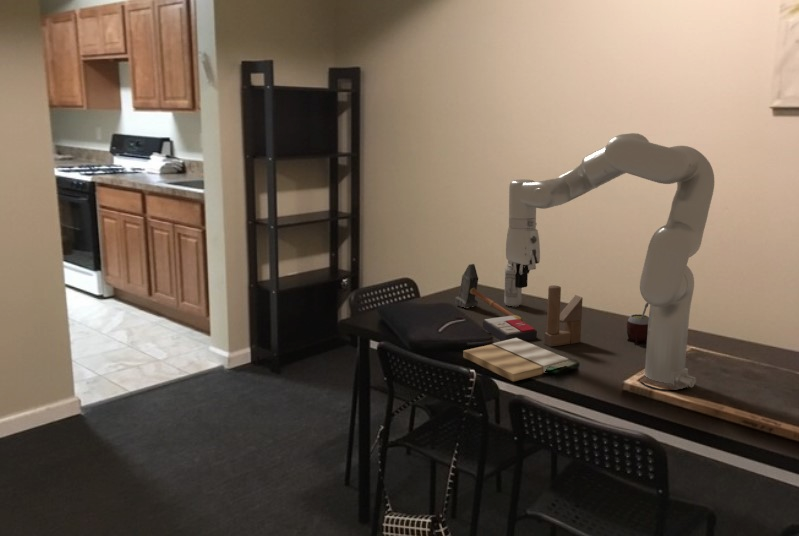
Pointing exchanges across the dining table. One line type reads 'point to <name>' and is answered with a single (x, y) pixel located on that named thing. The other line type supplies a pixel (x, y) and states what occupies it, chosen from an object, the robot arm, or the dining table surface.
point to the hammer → (475, 292)
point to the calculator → (509, 328)
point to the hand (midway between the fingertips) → (521, 286)
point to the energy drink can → (511, 288)
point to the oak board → (502, 362)
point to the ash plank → (531, 352)
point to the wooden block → (563, 319)
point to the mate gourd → (638, 327)
